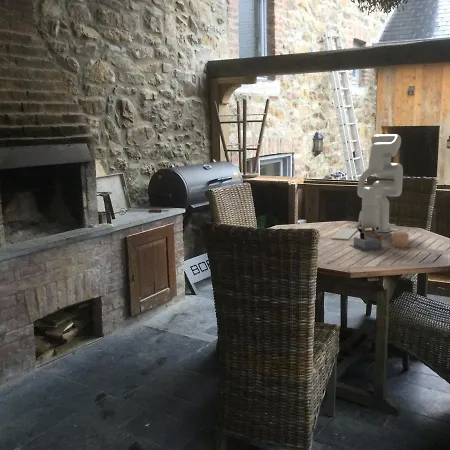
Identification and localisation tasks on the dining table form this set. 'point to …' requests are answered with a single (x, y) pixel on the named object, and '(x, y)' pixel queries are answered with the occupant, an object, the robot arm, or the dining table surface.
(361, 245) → the bracket
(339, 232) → the baseboard molding
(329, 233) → the dining table surface
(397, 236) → the brown round cylinder
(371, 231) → the rail
